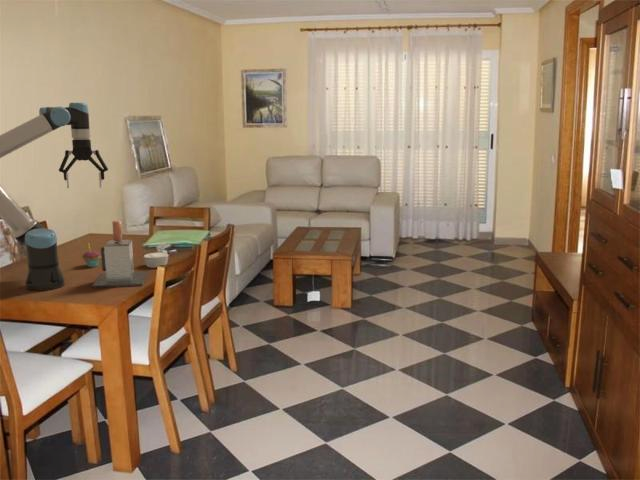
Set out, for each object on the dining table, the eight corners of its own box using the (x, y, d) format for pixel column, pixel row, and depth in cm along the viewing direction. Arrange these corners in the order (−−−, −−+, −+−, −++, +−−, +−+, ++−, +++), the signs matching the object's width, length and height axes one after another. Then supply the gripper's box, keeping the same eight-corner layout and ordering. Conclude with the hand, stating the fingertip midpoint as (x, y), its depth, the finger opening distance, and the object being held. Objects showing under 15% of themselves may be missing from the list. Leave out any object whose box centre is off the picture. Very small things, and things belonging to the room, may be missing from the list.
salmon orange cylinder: (115, 277, 261) (111, 222, 256) (116, 275, 264) (113, 221, 259) (124, 277, 261) (120, 222, 256) (125, 275, 265) (121, 220, 260)
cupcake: (95, 268, 284) (93, 243, 282) (79, 267, 286) (77, 242, 283) (105, 264, 292) (103, 239, 290) (89, 263, 294) (87, 238, 292)
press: (92, 288, 252) (89, 248, 248) (100, 275, 271) (97, 238, 268) (142, 285, 255) (139, 246, 252) (147, 273, 275) (144, 236, 271)
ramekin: (139, 267, 286) (138, 256, 285) (154, 262, 297) (153, 251, 296) (159, 269, 282) (158, 258, 281) (173, 264, 293) (172, 253, 292)
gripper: (112, 138, 271) (115, 185, 275) (53, 138, 266) (57, 187, 271) (109, 139, 263) (113, 187, 268) (48, 139, 259) (53, 189, 263)
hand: (85, 187), depth 269 cm, fingers open, 13 cm apart
